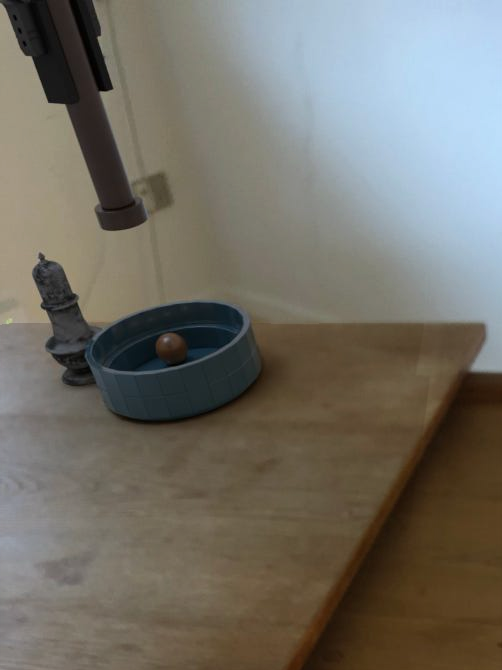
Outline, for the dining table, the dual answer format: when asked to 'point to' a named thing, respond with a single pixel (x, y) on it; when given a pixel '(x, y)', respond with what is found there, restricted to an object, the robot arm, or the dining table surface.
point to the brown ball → (171, 348)
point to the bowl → (181, 379)
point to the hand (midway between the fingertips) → (81, 95)
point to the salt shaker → (64, 322)
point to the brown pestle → (95, 129)
